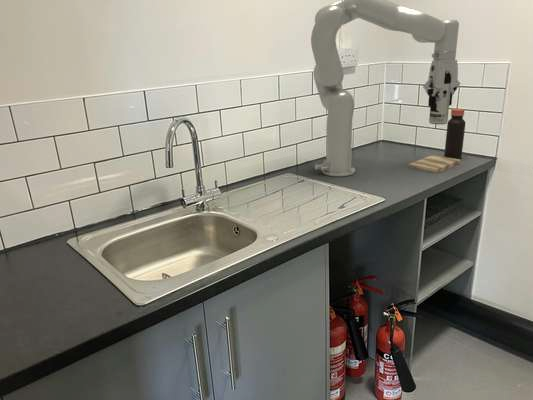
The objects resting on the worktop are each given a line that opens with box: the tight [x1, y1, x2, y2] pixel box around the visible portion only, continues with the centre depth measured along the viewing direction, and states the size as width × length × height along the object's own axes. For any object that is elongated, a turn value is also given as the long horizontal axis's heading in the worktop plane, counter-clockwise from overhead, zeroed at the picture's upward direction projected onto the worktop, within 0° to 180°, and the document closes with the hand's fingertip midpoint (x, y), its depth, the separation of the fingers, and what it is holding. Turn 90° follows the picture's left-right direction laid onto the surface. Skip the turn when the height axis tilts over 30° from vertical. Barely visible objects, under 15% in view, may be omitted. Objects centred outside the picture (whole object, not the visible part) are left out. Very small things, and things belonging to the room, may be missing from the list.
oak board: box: [408, 154, 461, 174], centre depth 174 cm, size 18×12×2 cm, turn 131°
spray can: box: [428, 71, 451, 125], centre depth 165 cm, size 7×7×20 cm
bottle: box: [443, 108, 466, 160], centre depth 180 cm, size 7×7×20 cm
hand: (439, 105), depth 166 cm, fingers closed on spray can, 6 cm apart
